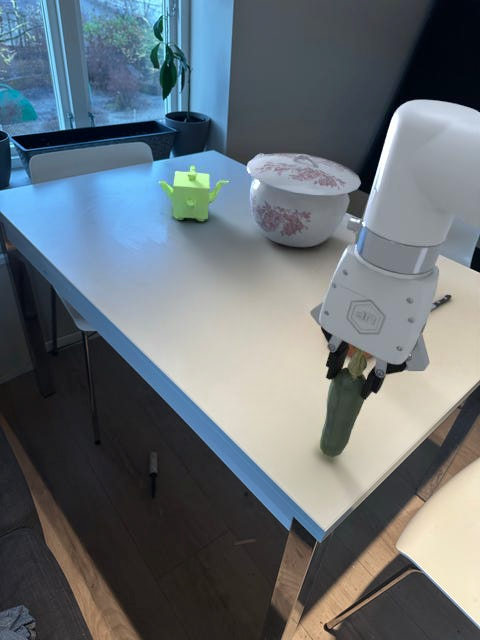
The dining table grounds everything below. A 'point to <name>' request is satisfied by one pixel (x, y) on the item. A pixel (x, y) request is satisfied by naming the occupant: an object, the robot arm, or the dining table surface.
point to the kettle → (191, 194)
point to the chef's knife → (441, 301)
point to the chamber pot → (299, 197)
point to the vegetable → (343, 404)
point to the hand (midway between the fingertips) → (351, 381)
